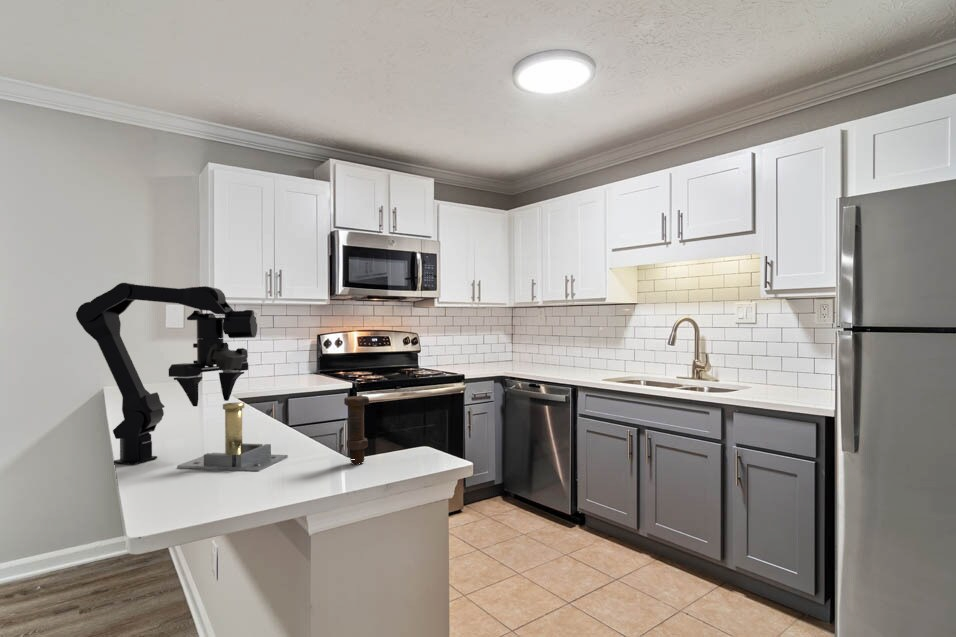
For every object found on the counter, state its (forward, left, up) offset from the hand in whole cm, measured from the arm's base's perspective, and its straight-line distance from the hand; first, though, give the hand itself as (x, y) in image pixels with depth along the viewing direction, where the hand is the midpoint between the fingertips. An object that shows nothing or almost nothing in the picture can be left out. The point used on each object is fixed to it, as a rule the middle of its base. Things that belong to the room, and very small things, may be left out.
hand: (211, 403), depth 128 cm
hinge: (+9, -2, -13) cm, 16 cm away
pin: (+9, -2, -13) cm, 15 cm away
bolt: (+37, +6, -13) cm, 40 cm away
